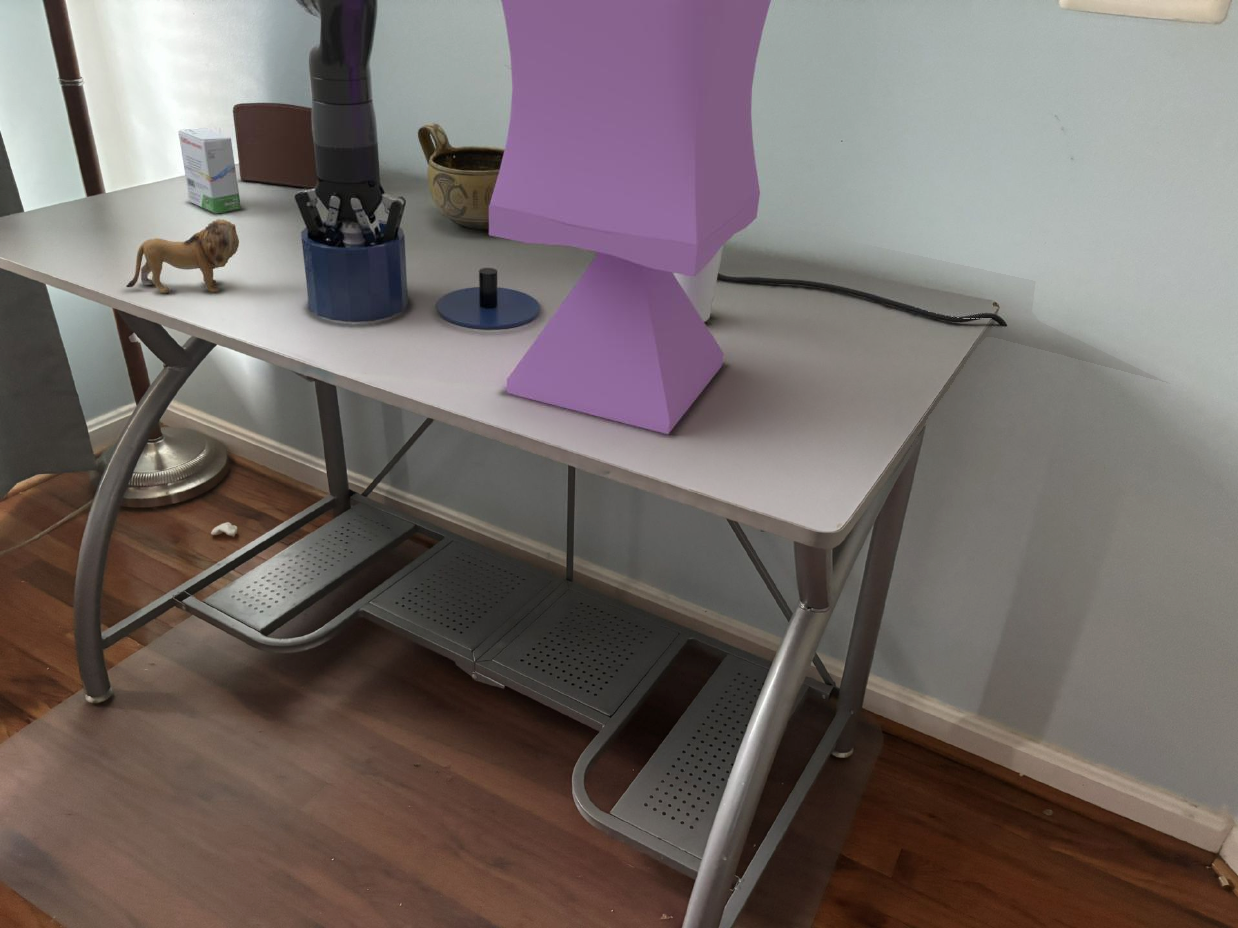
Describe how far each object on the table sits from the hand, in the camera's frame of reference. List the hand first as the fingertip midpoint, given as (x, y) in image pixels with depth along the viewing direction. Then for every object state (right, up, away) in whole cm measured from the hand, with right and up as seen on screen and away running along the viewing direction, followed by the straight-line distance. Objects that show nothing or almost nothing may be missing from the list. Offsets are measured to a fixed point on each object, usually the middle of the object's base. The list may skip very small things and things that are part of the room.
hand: (356, 272), depth 125 cm
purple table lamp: (+34, -15, -11) cm, 39 cm away
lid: (+17, -4, +3) cm, 18 cm away
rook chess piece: (0, -1, +1) cm, 1 cm away
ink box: (-33, +18, +35) cm, 51 cm away
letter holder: (-23, +27, +51) cm, 62 cm away
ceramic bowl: (+11, +15, +35) cm, 40 cm away
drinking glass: (+44, -5, +7) cm, 45 cm away
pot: (0, -4, +2) cm, 5 cm away
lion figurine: (-24, -1, +5) cm, 24 cm away
